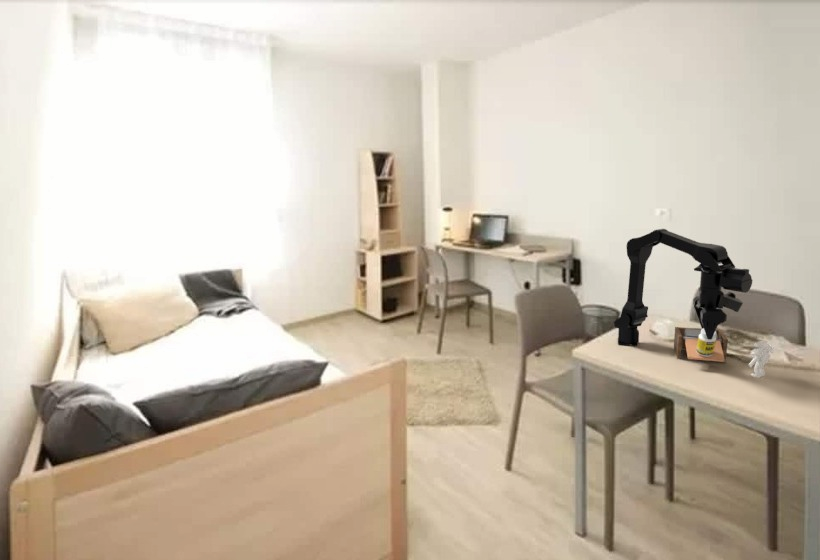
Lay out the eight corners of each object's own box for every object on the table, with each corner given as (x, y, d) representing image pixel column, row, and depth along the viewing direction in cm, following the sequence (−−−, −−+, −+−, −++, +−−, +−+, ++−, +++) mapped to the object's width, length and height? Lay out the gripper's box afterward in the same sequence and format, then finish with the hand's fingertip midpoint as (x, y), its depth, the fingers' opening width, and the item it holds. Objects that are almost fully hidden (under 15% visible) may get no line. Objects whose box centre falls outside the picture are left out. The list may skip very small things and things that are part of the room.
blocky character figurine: (756, 381, 145) (761, 343, 142) (743, 376, 148) (746, 339, 145) (773, 374, 149) (778, 336, 146) (760, 369, 152) (764, 333, 149)
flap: (684, 365, 157) (686, 356, 155) (680, 337, 168) (682, 328, 166) (724, 369, 153) (726, 359, 151) (717, 339, 164) (719, 330, 162)
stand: (677, 358, 164) (678, 336, 162) (673, 348, 173) (675, 326, 171) (725, 362, 159) (727, 339, 157) (719, 351, 168) (721, 329, 166)
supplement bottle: (704, 358, 153) (708, 337, 149) (692, 350, 157) (695, 329, 153) (717, 354, 154) (721, 332, 150) (704, 345, 158) (708, 325, 154)
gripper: (749, 295, 139) (744, 346, 142) (734, 280, 156) (729, 326, 159) (704, 293, 143) (700, 343, 146) (694, 279, 160) (691, 324, 163)
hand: (706, 334), depth 154 cm, fingers open, 9 cm apart
